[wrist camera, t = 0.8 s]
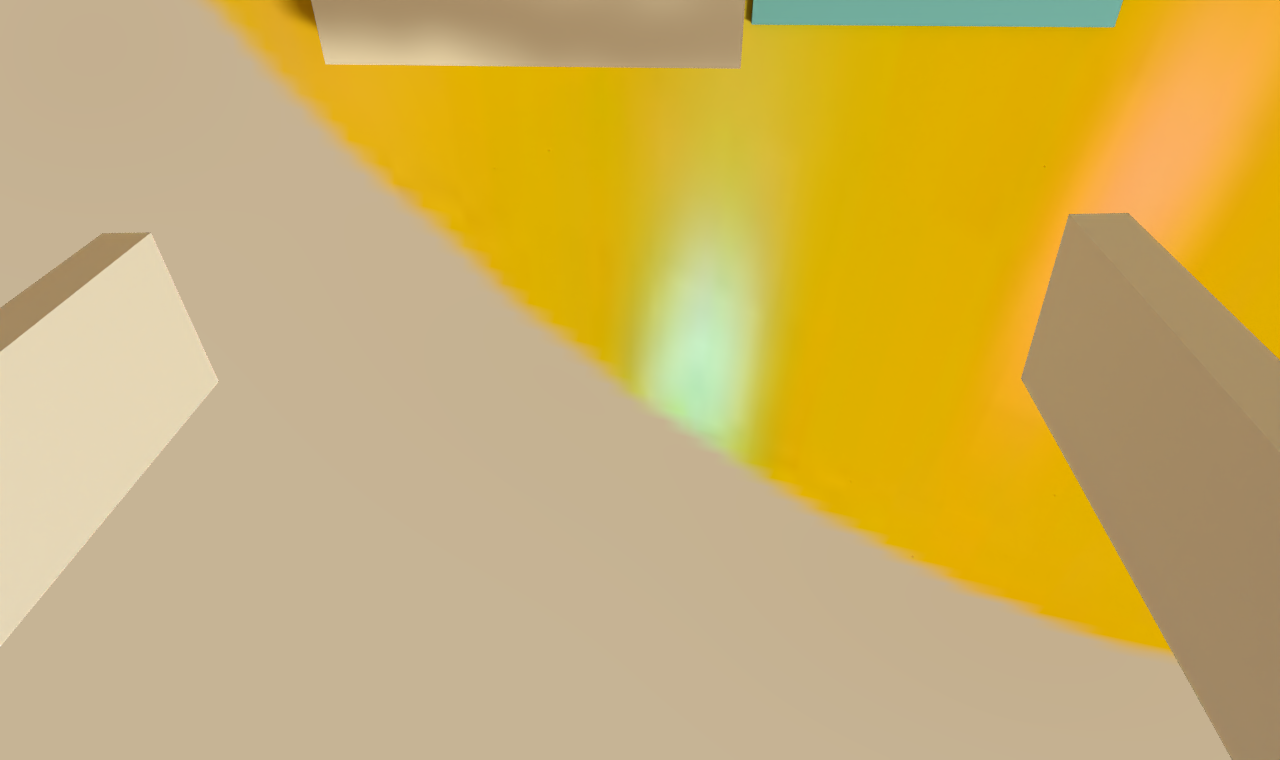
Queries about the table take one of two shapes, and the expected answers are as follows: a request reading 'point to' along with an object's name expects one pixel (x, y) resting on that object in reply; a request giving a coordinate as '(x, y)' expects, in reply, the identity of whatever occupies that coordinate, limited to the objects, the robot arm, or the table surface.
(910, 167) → the table surface
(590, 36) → the beige striped slab
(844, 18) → the mat
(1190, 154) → the table surface
